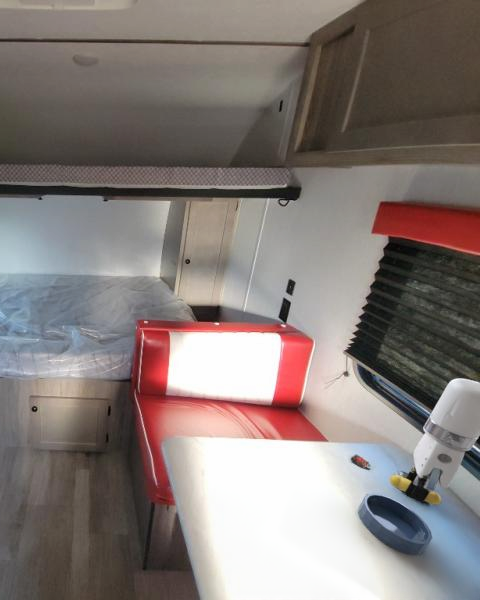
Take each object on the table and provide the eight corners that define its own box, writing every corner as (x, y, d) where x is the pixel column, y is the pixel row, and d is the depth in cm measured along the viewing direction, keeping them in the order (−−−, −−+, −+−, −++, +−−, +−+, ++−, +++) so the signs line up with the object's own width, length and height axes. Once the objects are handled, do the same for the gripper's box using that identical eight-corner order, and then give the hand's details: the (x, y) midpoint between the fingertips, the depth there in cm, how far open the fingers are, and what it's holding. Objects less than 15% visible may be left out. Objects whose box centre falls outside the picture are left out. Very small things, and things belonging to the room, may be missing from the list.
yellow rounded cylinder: (436, 501, 78) (442, 492, 77) (438, 510, 76) (445, 501, 75) (387, 478, 83) (392, 469, 82) (387, 486, 81) (392, 477, 80)
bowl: (420, 526, 85) (428, 515, 83) (427, 567, 75) (436, 556, 74) (358, 494, 92) (364, 484, 90) (357, 528, 82) (364, 517, 81)
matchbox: (350, 461, 103) (350, 459, 103) (353, 453, 107) (353, 452, 106) (368, 471, 100) (369, 470, 100) (371, 462, 104) (372, 461, 103)
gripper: (484, 464, 65) (439, 528, 71) (465, 422, 77) (428, 480, 83) (431, 444, 69) (394, 506, 76) (421, 407, 81) (389, 463, 88)
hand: (412, 492), depth 79 cm, fingers closed on yellow rounded cylinder, 3 cm apart
